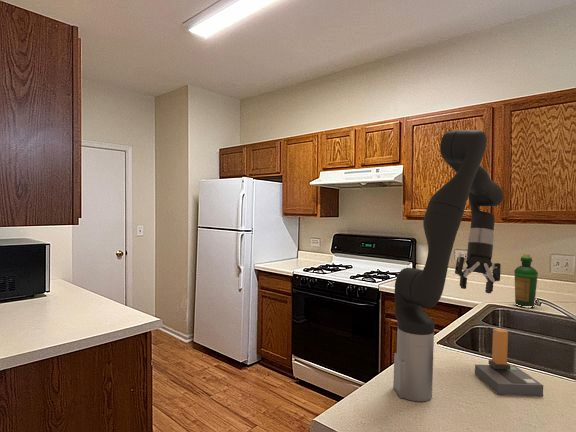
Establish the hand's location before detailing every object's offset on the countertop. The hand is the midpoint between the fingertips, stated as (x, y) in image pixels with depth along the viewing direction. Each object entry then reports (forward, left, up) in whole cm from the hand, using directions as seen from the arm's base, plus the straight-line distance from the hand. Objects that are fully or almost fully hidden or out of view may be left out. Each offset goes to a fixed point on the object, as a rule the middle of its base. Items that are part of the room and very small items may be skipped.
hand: (475, 290), depth 121 cm
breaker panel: (+1, -17, -23) cm, 29 cm away
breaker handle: (+1, -13, -20) cm, 24 cm away
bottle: (+65, +74, -23) cm, 101 cm away
